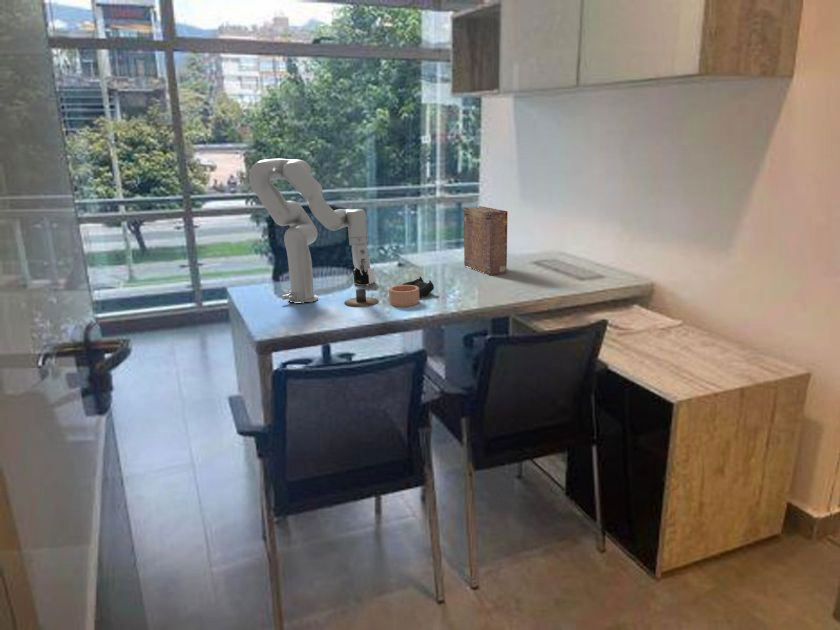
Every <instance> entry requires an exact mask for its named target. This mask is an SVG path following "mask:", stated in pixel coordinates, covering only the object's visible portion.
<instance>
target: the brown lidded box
mask: <svg viewBox="0 0 840 630" xmlns="http://www.w3.org/2000/svg"><path fill="white" fill-rule="evenodd" d="M508 214H509V213H508V211H507V210H503V209H497V208H493V207H488V206H482V205H479V206H478V207H470V208H469V207H463V247H464V248H463V249H464V251H463V252H464V255H463V256H464V257H463V258H464V259H463V261H464V265H465V266H468V267H471V268H474V269H476V270H479V271H481V272H480V273H482V272H484V273H483V274H485V273H486V274H485V275H487V274H489V275H488V276H495V274H497V275H502V274H501V273H504V274H507V271H508V267H507V265H508V263H507V261H508V255H507V254H508ZM464 265H463V266H464ZM465 266H464V267H465ZM476 270H475V271H476ZM479 271H478V272H479Z"/></svg>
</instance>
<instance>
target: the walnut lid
mask: <svg viewBox="0 0 840 630" xmlns="http://www.w3.org/2000/svg"><path fill="white" fill-rule="evenodd" d="M366 291H367V289H366V288H362V287H361V288H356V289H355V294H356V295H355V296H356V297H351V298H348V299H346V300H344V301H343V303H344V305H345V306H347V307H352V308H366V307H372V306H374V305H377V304H379V299H377V298H376V297H369V296H367V292H366Z"/></svg>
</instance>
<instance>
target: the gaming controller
mask: <svg viewBox="0 0 840 630" xmlns="http://www.w3.org/2000/svg"><path fill="white" fill-rule="evenodd" d="M401 285H414V286H417V287H419V299H421V298H423V297H425V296H428V295H429V294H430V293H431V292H432V291H433V290H434V289H435V287H434V283H433V282H432V281H431V280H430V279H429V281H428V282H425V281H424V279H423V278H422V276H421V275H419V278H416V279H415V280H412V281H407V282H404V283H402V284H401Z"/></svg>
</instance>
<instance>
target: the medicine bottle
mask: <svg viewBox="0 0 840 630" xmlns="http://www.w3.org/2000/svg"><path fill="white" fill-rule="evenodd" d="M369 262H370V263H371V260H370V258H369ZM367 269H368V268H367ZM352 271H353V284H354V285H355V284H357V286H363V285H362V284H361V280H356V278H355V268H354V269H353V270H352ZM368 275H369V284H370V285H371V283H372V284H374V283H375V282H376V281H375V280H376V279H375V276H376V275H375V267H373V266H370V268H369V269H368ZM373 282H374V283H373ZM366 285H367V286H369V285H368V284H366Z"/></svg>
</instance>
